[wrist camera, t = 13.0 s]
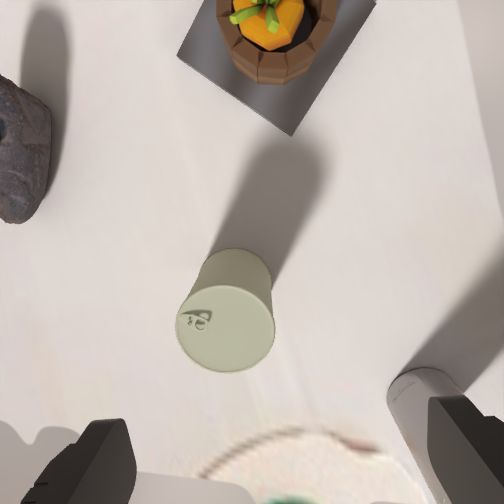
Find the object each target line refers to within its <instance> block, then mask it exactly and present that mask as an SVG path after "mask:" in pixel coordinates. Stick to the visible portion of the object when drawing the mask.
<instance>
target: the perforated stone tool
mask: <svg viewBox="0 0 504 504" xmlns="http://www.w3.org/2000/svg"><path fill="white" fill-rule="evenodd" d="M51 137H52V131H51V115H50V110H49V108H48V107H47V106H46V105H44V104H43V103H42V102H41V101H40V100H39V99H37V98H36V97H34V96H32V95H31V94H29V93H28V92H27V91H25V90H23V89H21V88H19V87H17V86H16V85H15V84H14V83H13V82H12V81H11V80H9V79H7V78H5V77H3V76H1V74H0V218H2V219H3V220H4V221H5V222H6V223H10V224H11V223H15V224H22V223H24V222H26V221H27V220H29V219H30V218H31V217H32V216H33V214H34V213H35V212H36V210H37V209H38V207H39V205H40V203H41V201H42V199H43V196H44V193H45V190H46V185H47V179H48V170H49V160H50V150H51Z"/></svg>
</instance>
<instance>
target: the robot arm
mask: <svg viewBox="0 0 504 504" xmlns="http://www.w3.org/2000/svg"><path fill="white" fill-rule="evenodd" d="M387 405H388V408H389V410H390V412H391V414H392V416H393V418H394V420H395V422H396V424H397V426H398V428H399V430H400V432H401V434H402V436H403V438H404V440H405V442H406V444H407V446H408V448H409V450H410V452H411V454H412V455H413V457H414V459H415V461H416V463H417V465H418V467H419V469H420V471H421V473H422V475H423V477H424V479H425V481H426V483H427V485H428V487H429V489H430V491H431V492H432V494H433V496H434V498H435V500H436V502H437V504H504V422H502V421H501V420H499V419H498V418H496V417H495V416H485V417H484V416H483V414H482V413H481V412H480V411H479V410H478V409H477V408H476V407H475V405H474V404H473V403H472V402H471V401H470V400H469V399H468V398H467V397H466V396H465V395H464V394H463V392H462V391H461V390H460V389H459V388H458V387H457V386H456V384H455V383H454V382H453V381H452V380H451V379H450V378H449V377H448V376H447V375H446V374H445V373H443V372H441V371H439V370H436V369H431V368H420V369H415V370H411V371H409V372H406V373H405V374H403V375H401V376H400V377H399V378H397V379H396V380H395V381H394V382H393V384H392V385H391V386H390V389H389V391H388V394H387ZM136 473H137V466H136V460H135V456H134V453H133V449H132V445H131V441H130V437H129V433H128V430H127V426H126V423H125V421H124V420H123V419H121V418H119V419H105V420H94V421H92V422H91V423H90V424H89V425H88V426H87V428H86V429H85V431H84V432H83V433H82V435H81V436H80V438H79V439H78V441H77V442H76V443H75V444H69V446H67V447H66V448H65V449H64V450H63V451H62V452H60V453H59V454H58V455H57V456H56V457H55V458H54V459H53V460H51V461H50V462H49V464H48V465H47V466H46V468H45V469H44V471H43V472H42V473H41V475H40V476H39V477H38V479H37V480H36V482H35V483H34V487H33V488H30V490H29V491H28V493H27V494H26V496H25V497H24V498H23V499H22V501H21V504H128V502H129V500H130V497H131V494H132V492H133V489H134V486H135V481H136Z"/></svg>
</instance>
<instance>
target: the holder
mask: <svg viewBox="0 0 504 504" xmlns="http://www.w3.org/2000/svg"><path fill="white" fill-rule="evenodd" d="M303 4H304V13H303V17H302V19H301V22H300V24H299V26H298V28H297V30H296V32H295V34H294V37H293V39H292V41H291V43H289V44H286V45H284V46H281V47H279V48H276V49H274V50H271V51H269V50H267V49H265V48H263V47H262V46H260V45H258V44H257V43H255V42H253V41H251V40H250V39H248V38H246V37H245V36H244V35H242V33H241V29H240V26H239V23H238V24H232V22H231V21H230V15H232V14H233V13H235V8H234V5H233V0H204V2H203V4H202V6H201V8H200V10H199V12H198V14H197V16H196V18H195V20H194V22H193V24H192V26H191V27H190V29H189V31H188V33H187V35H186V37H185V39H184V41H183V43H182V45H181V47H180V49H179V51H178V53H177V57H178V58H179V59H180V60H182V61H183V62H184V63H186V64H187V65H189V66H190V67H192V68H193V69H194V70H196V71H197V72H199V73H200V74H202V75H203V76H205V77H206V78H207V79H209V80H210V81H212V82H213V83H215V84H216V85H218V86H219V87H220V88H222V89H223V90H225V91H226V92H228V93H229V94H230V95H232V96H233V97H235V98H236V99H238V100H239V101H241V102H242V103H243V104H245V105H246V106H248V107H249V108H251V109H252V110H253V111H255V112H256V113H258V114H259V115H261V116H262V117H264V118H265V119H266V120H268V121H269V122H271V123H272V124H274V125H275V126H276V127H278V128H279V129H281V130H282V131H284V132H285V133H287V134H288V135H289V136H292V135H293V133H294V132H295V130H296V129H297V127H298V125H299V124H300V122H301V121H302V119H303V118H304V116H305V115H306V113H307V111H308V110H309V108H310V107H311V105H312V104H313V102H314V100H315V99H316V97H317V96H318V94H319V93H320V91H321V90H322V88H323V86H324V85H325V83H326V82H327V80H328V79H329V77H330V76H331V74H332V72H333V71H334V69H335V68H336V66H337V65H338V63H339V61H340V60H341V58H342V57H343V55H344V54H345V52H346V51H347V49H348V47H349V46H350V44H351V43H352V41H353V40H354V38H355V36H356V35H357V33H358V32H359V30H360V29H361V27H362V26H363V24H364V22H365V21H366V19H367V18H368V16H369V15H370V13H371V12H372V10H373V8H374V7H375V5H376V3H375V2H374V1H373V0H303Z"/></svg>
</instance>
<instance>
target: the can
mask: <svg viewBox="0 0 504 504" xmlns="http://www.w3.org/2000/svg"><path fill="white" fill-rule="evenodd" d="M271 289H272V279H271V274H270V272H269V269H268V267H267V266H266V264H265V263H264V262H263V261H262V260H261V259H260V258H259V257H258V256H257V255H255V254H253V253H252V252H249V251H247V250H243V249H237V248H231V249H225V250H221V251H219V252H217V253H215V254H213V255H212V256H210V257H209V258H208V259H207V260H206V261H205V263H204V264H203V266H202V267H201V269H200V272H199V276H198V278H197V280H196V282H195V284H194V286H193V287H192V289H191V291H190V293H189V295H188V296H187V298H186V300H185V301H184V302H183V304H182V305H181V307H180V309H179V311H178V314H177V317H176V322H175V331H176V337H177V340H178V343H179V345H180V347H181V349H182V350H183V352H184V353H185V354H186V356H187V357H188V358H189V359H190V360H191V361H193V362H194V363H195V364H197V365H198V366H200V367H202V368H204V369H206V370H209V371H212V372H217V373H237V372H242V371H245V370H248V369H250V368H252V367H254V366H255V365H257V364H258V363H259V362H261V361H262V360H263V359H264V358H265V357H266V355H267V354H268V353H269V351H270V349H271V347H272V345H273V342H274V338H275V322H274V318H273V309H272V298H271Z"/></svg>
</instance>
